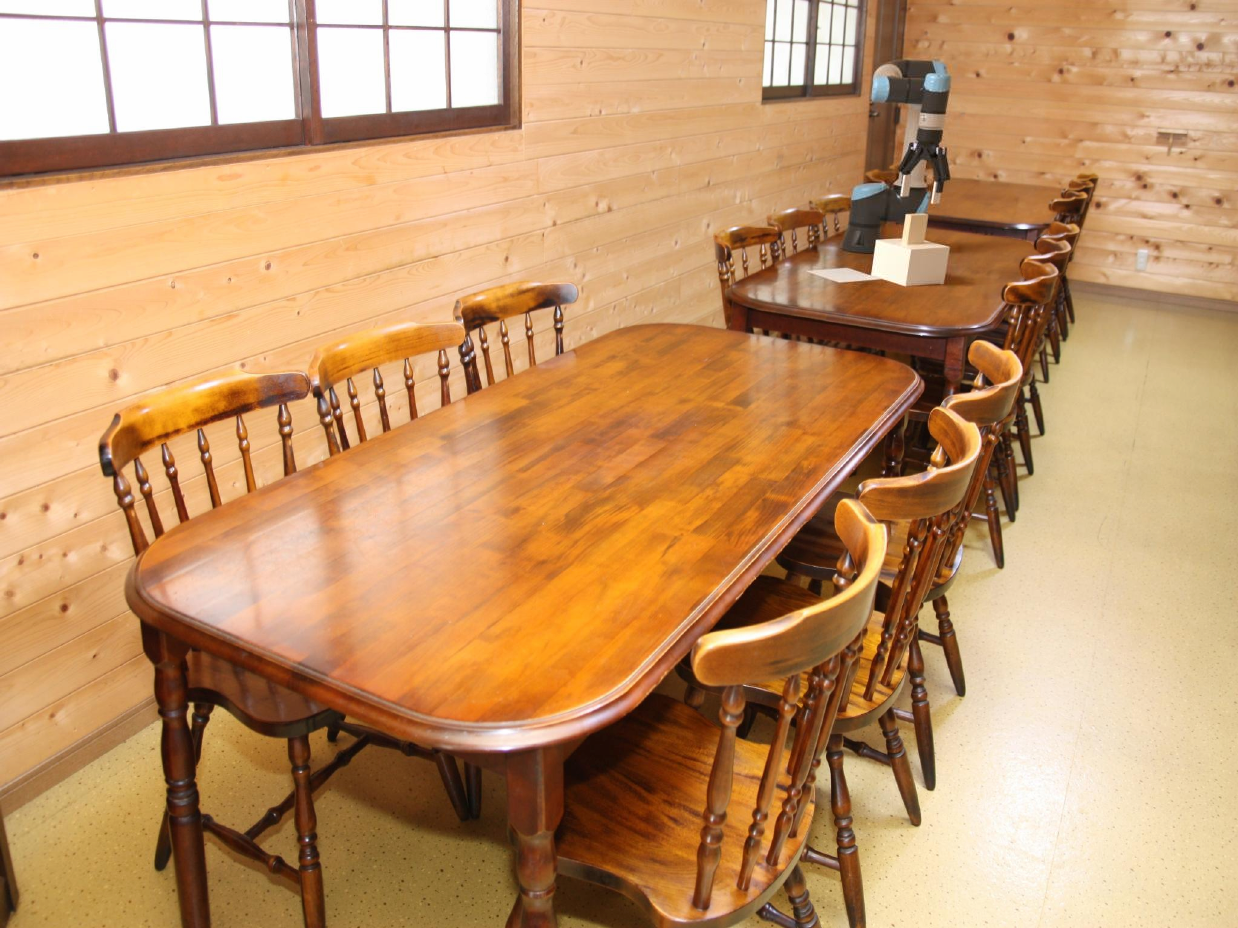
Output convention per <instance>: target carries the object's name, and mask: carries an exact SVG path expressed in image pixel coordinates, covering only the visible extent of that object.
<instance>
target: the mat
mask: <svg viewBox="0 0 1238 928" xmlns="http://www.w3.org/2000/svg"><path fill="white" fill-rule="evenodd" d="M806 272H807V273H809V274H813V275H817V276H819V277H821V278H824V279H827V280H831V281H834V282H836V283H840V284H841V283H849V282H850V283H851V282H852V283H853V282H863V281H877V280H881V278H878V277H875V276H872V275H871V274H867V273H865V272H861V271H858V270H855V269H852V268H849V267H840V268H827V269H816V270H815V269H813V270H806Z"/></svg>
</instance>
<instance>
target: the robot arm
mask: <svg viewBox="0 0 1238 928" xmlns="http://www.w3.org/2000/svg"><path fill="white" fill-rule="evenodd" d="M951 83H952V76H951V75H950V74H948V68H947V65H946V63H945V62H943V61H937V60H920V59H896V60H895V59H894V60H891V61H887V62H885V63H883V64H881V65H879V66H878V67H877V68H876V70H875V71H874V72H873V74H872V86H871V87H872V88H871V98H870V99H871V101H872V102H876V103H881V104H883V103H887V104H904V105H906V106H907V107H908V113H907V118H906V126H905V133H904V138H903V139H904V140H903V147H902V154H901V160H900V164H899V166H898V168H897V171H898V172H899V173H898V174H899V175H898V179H896V180H895V181H894V182H893V185H892V187H891V188H890V187H889V188H888V185H887V183H884V182H882V183H881V182H873V183H872V182H871V183H862V184H857V185H855V186H854V187H853V189H852V195H851V198H850V201H851V202H850V211H849V216H848V217H849V218H848V224H847V228H846V230H845V233H844V235H843V237H842V240H841V241H840V247H839V248H840V249H841V250H843V251H846V252H851V253H852V252H853V253H860V254H874V252H875V245H876V240H883V236H882V235H883V234H882V223H884V222H885V223H898V224H904V223H905V217H906V214H920V213H923V214H927V211H928V208H929V204H933V205H936V204H940V202H941V196H942V193H943V191H944V186H945V182H947V181H950V180H951V175H950V174H951V173H950V166H949V162H948V156H947V153H948V148H947V147H946V146H940V143H942V141H943V133H944V130H943V128H944V127H945V123H946V116H947V108H948V103H949V96H950V91H951V88H952V84H951ZM927 162H928V163H929V164H930V166H931V169H932V171H933V174H934V177H935V181H934V182H933V189H932V194H931V191H930V190H927V189H928V184H927V183H926V182H925V175H926V174H925V172H926V167H927V166H926V165H927ZM930 198H931V201H930Z"/></svg>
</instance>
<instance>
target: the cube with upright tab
mask: <svg viewBox="0 0 1238 928" xmlns="http://www.w3.org/2000/svg"><path fill="white" fill-rule="evenodd" d="M928 219H929V214H928V213H926V214H923V213H920V214H906V217H905V223H903V224H904V225H903V231H902V238H886V239H885V238H884V239H883V238H882V240H876V245H875V252H874V253H873V261H872V268H871V272H870V275H871V276H874V277H877V278H880V280H885V281H888V282H891V283H894V284H897V285H900V286H903V287H914V286H925V285H936V284H937V285H938V284H941V285H944V284H945V278H946V274H947V267H948V260H949V257H950V256H949V255H950V254H949V253H950V249H951V247H950V246H947V245H944V244H939V243H935V242H932V241H928V240H925V237H926V233H927V227H928Z"/></svg>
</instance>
